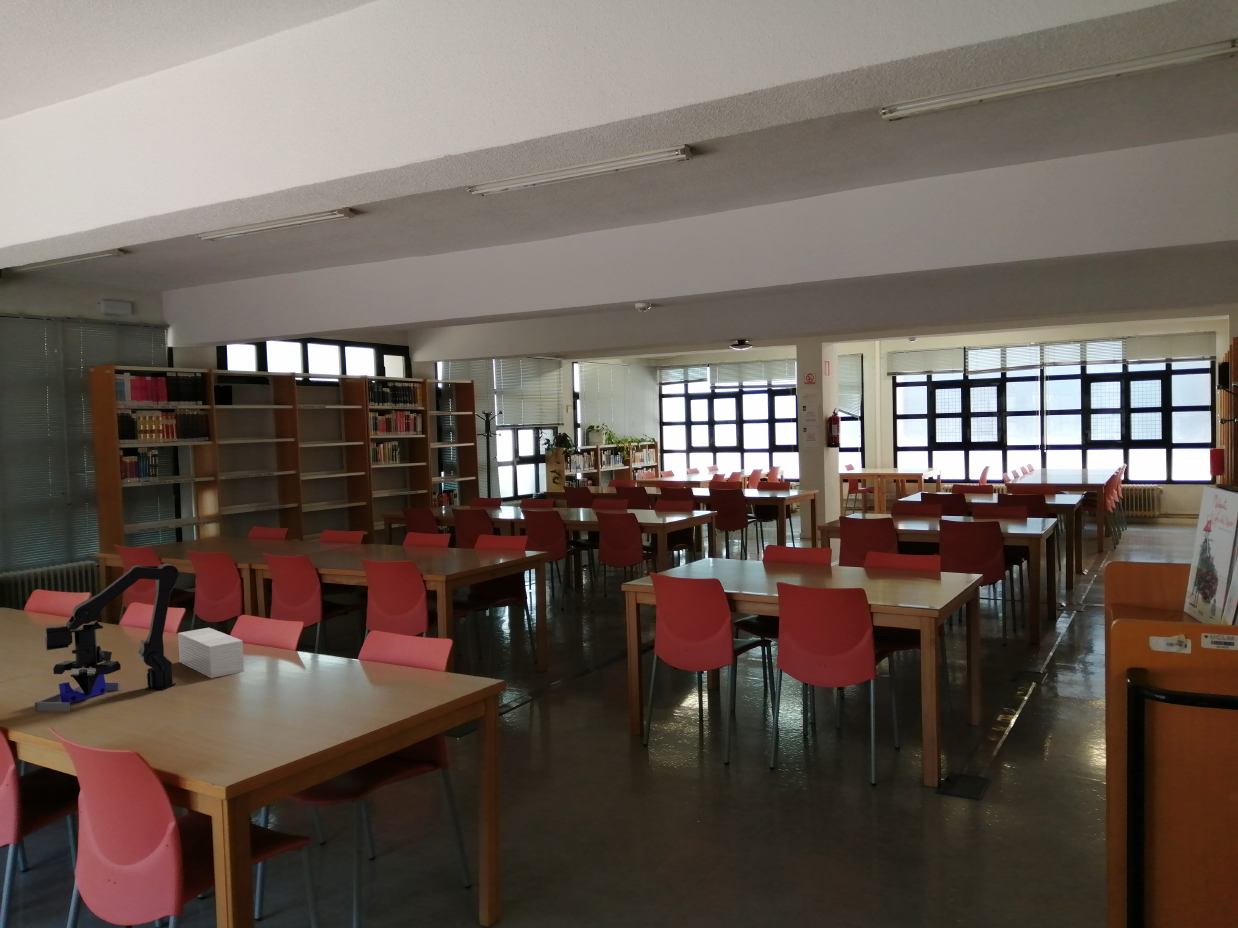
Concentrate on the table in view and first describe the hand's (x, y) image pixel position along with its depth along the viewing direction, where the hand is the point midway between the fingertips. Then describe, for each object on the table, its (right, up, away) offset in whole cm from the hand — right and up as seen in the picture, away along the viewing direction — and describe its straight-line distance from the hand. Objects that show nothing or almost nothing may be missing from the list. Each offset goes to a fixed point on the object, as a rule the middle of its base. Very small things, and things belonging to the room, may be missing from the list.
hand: (88, 695), depth 269 cm
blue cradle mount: (-2, -2, +2) cm, 3 cm away
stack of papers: (+21, 0, +36) cm, 42 cm away
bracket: (-3, -2, +1) cm, 3 cm away
